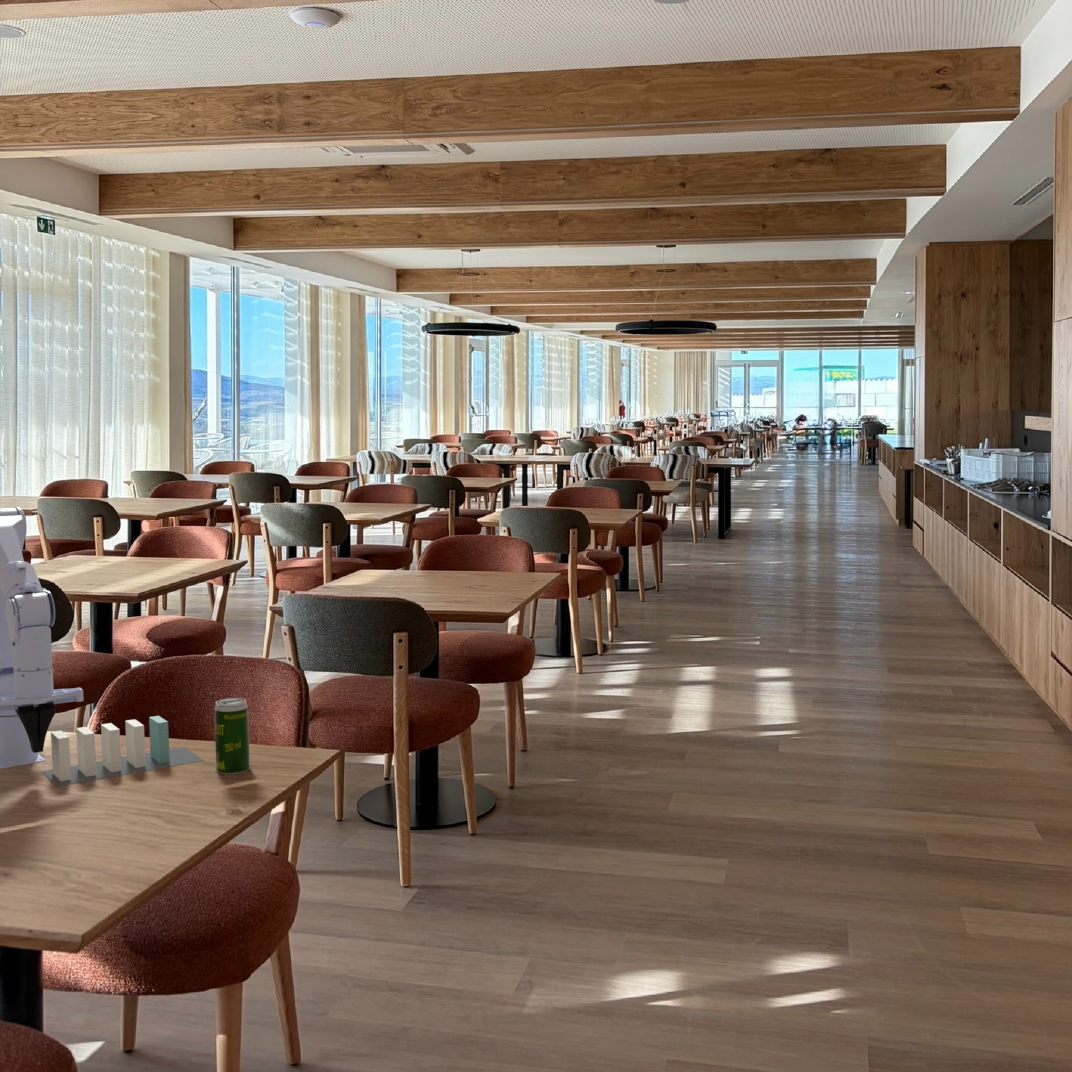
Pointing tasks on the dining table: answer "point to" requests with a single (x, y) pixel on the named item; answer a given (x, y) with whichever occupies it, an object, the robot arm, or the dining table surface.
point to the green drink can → (231, 736)
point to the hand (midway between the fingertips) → (37, 750)
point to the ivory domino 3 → (111, 747)
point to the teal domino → (159, 739)
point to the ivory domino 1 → (60, 755)
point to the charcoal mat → (126, 767)
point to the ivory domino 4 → (135, 743)
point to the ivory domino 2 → (86, 751)
